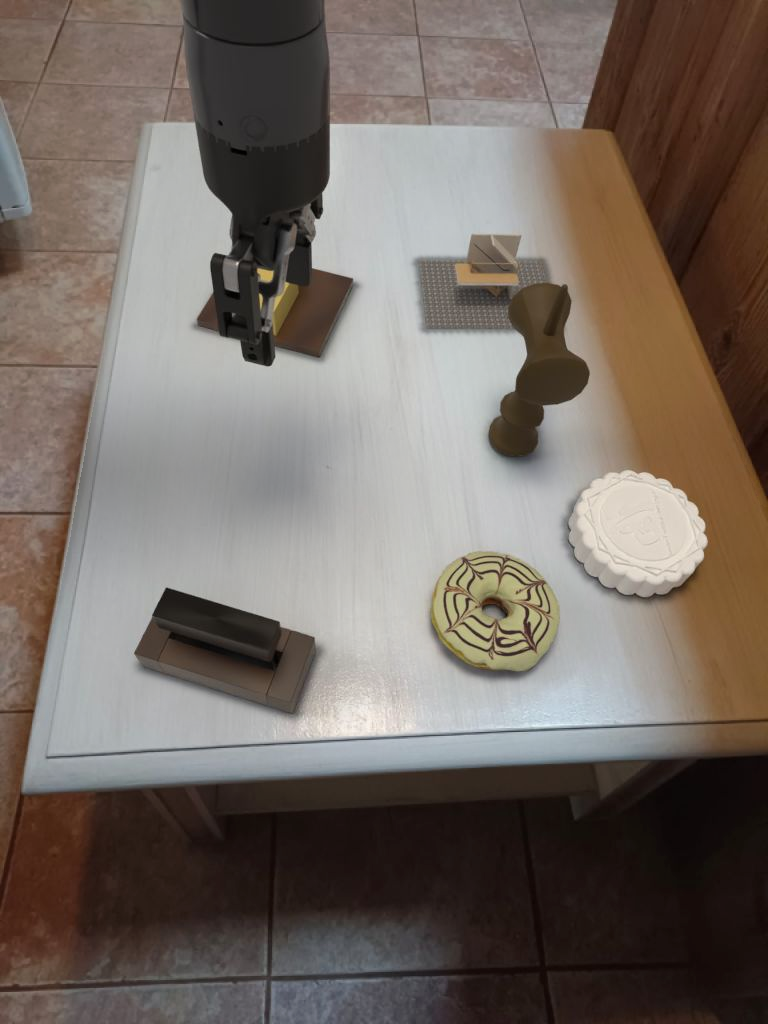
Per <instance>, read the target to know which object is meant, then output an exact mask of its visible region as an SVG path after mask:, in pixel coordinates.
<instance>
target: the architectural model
mask: <svg viewBox="0 0 768 1024" xmlns="http://www.w3.org/2000/svg"><path fill="white" fill-rule="evenodd" d="M521 239H522V233H470V240H469V244H468V249H467V256H466V260H452V259H451V260H450V259H449V260H444V259H443V260H442V259H440V260H437V259H435V260H433V259H419V260H418V267H419V274H420V275H419V276H420V283H421V292H422V300H423V309H424V316H425V317H424V318H425V325H426V329H468V330H469V329H470V330H471V329H472V330H473V329H476V330H477V329H478V330H479V329H480V330H482V329H487V330H489V329H490V330H491V329H495V330H496V329H498V330H499V329H505V330H507V329H512V330H513V329H514V328H513V326H512V325H511V323H510V321H509V319H508V307H509V304H510V302H511V300H512V298H513V296H514V295H515V294H517V293H518V292H519V291H520V290H521V289H522V288H525V287H527V286H530V285H532V284H539V283H548V282H547V279H546V275H545V271H544V267H543V262H542V261H539V260H538V261H537V260H527V261H526V260H516V259H517V254H518V251H519V247H520V243H521ZM514 330H515V329H514Z"/></svg>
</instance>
